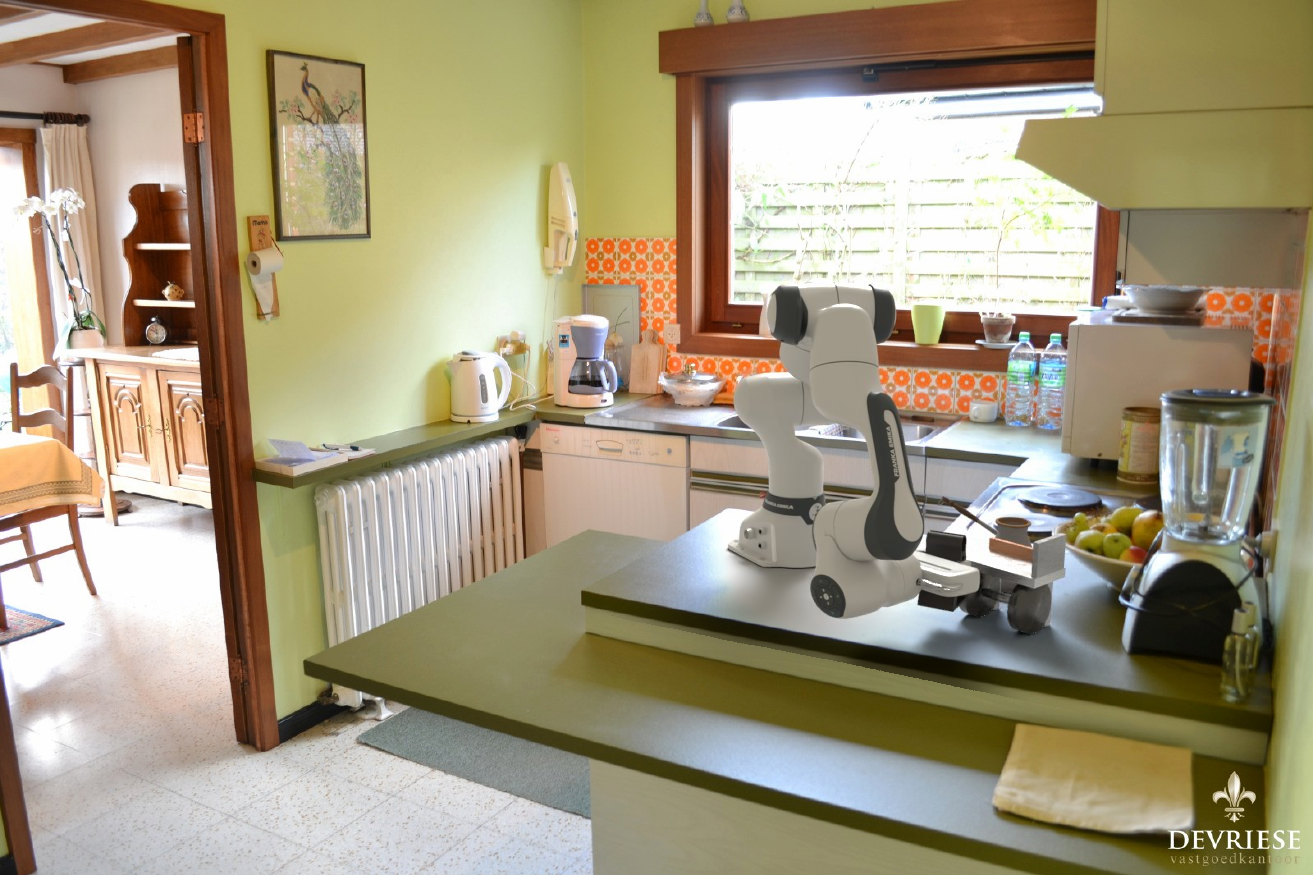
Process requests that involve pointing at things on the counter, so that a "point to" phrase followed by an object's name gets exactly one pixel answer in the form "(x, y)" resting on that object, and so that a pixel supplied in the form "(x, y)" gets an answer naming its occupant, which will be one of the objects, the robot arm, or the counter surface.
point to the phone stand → (948, 549)
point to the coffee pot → (1001, 533)
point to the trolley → (1018, 580)
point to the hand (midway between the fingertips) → (948, 559)
